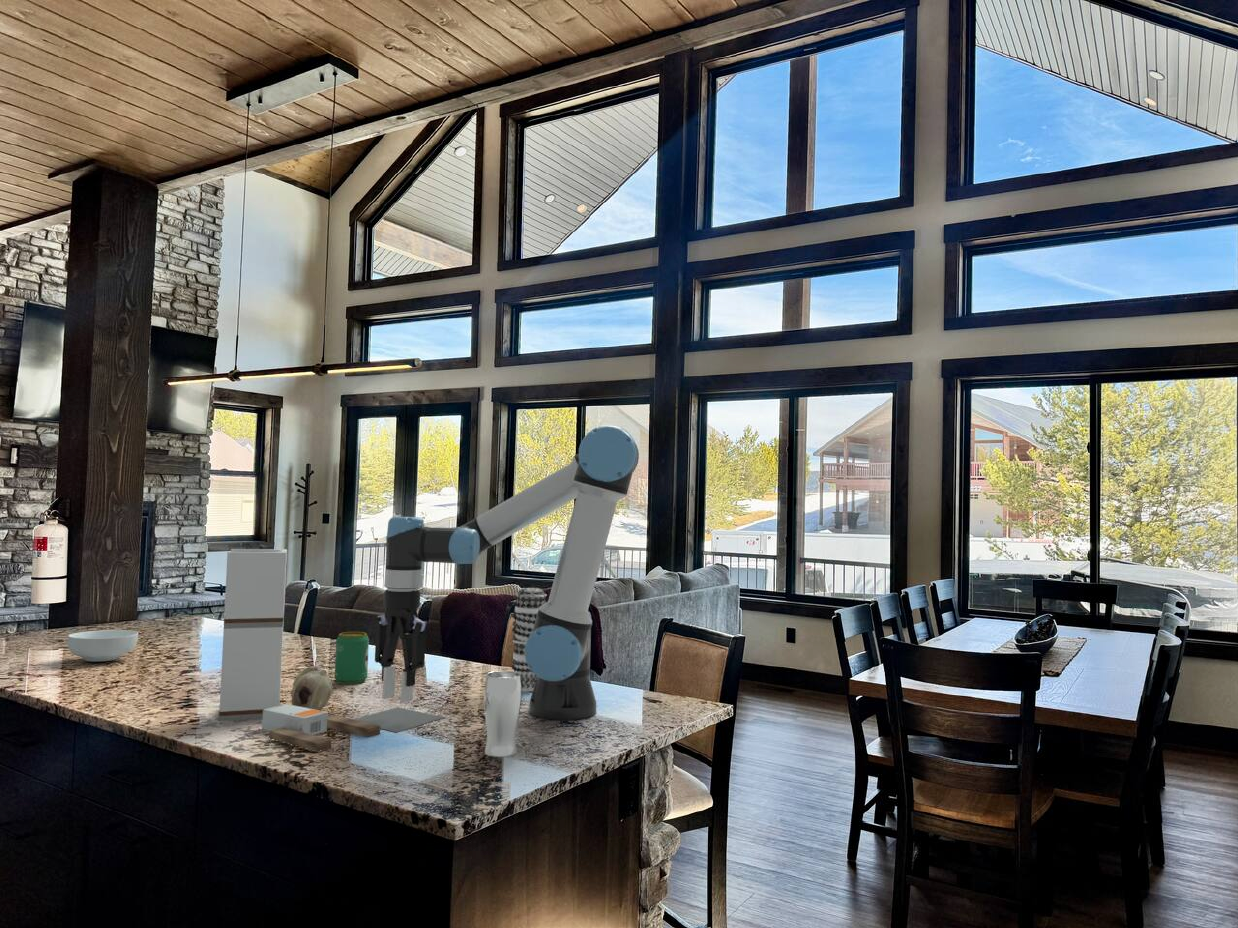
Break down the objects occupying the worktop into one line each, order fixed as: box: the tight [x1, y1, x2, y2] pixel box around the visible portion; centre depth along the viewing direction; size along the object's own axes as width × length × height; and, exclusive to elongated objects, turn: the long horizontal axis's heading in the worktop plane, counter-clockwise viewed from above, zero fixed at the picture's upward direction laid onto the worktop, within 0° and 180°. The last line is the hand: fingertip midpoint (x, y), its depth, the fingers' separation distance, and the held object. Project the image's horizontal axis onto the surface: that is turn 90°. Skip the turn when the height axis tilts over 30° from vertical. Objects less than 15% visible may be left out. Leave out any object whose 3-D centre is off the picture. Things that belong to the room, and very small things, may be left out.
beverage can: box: [334, 631, 370, 685], centre depth 211 cm, size 8×8×12 cm
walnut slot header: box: [268, 714, 381, 752], centre depth 161 cm, size 14×15×2 cm
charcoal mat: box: [353, 706, 446, 734], centre depth 174 cm, size 14×14×1 cm
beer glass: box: [483, 670, 522, 758], centre depth 154 cm, size 7×7×15 cm
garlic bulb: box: [290, 665, 333, 711], centre depth 179 cm, size 10×8×10 cm
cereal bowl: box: [66, 629, 139, 662], centre depth 229 cm, size 17×17×7 cm
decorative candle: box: [511, 587, 548, 692], centre depth 209 cm, size 9×9×25 cm
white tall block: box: [218, 548, 288, 722], centre depth 178 cm, size 11×11×35 cm
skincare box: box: [261, 703, 328, 736], centre depth 165 cm, size 6×4×12 cm
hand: (397, 698), depth 174 cm, fingers open, 5 cm apart
